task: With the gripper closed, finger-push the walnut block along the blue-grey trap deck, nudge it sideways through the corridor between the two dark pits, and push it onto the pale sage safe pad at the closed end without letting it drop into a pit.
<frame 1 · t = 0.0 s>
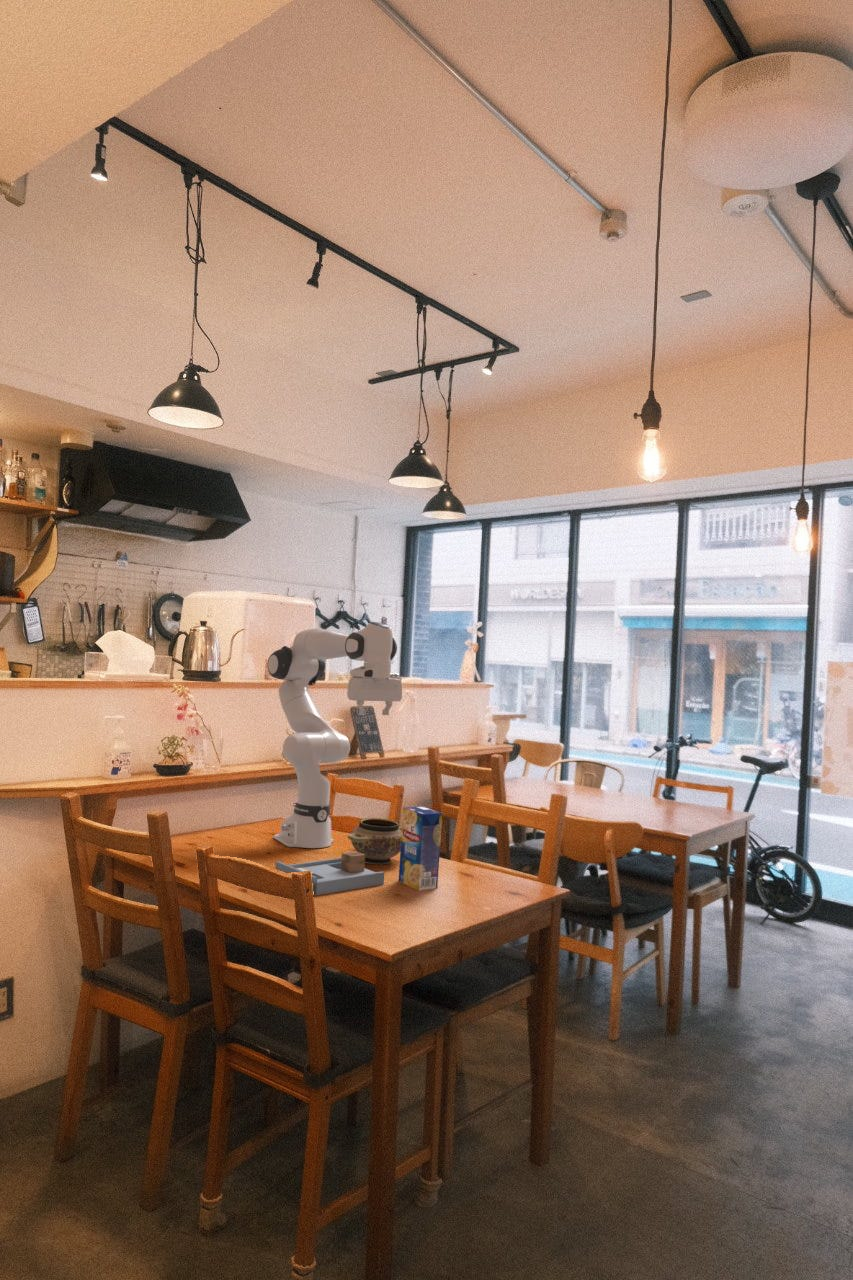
hand: (374, 715, 268), 48 cm above the table, fingers open, 8 cm apart
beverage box: (417, 885, 247), on the table
trap deck: (330, 881, 245), on the table
block: (352, 870, 248), point 2 cm above the table, touching trap deck
ceramic bowl: (376, 862, 272), on the table
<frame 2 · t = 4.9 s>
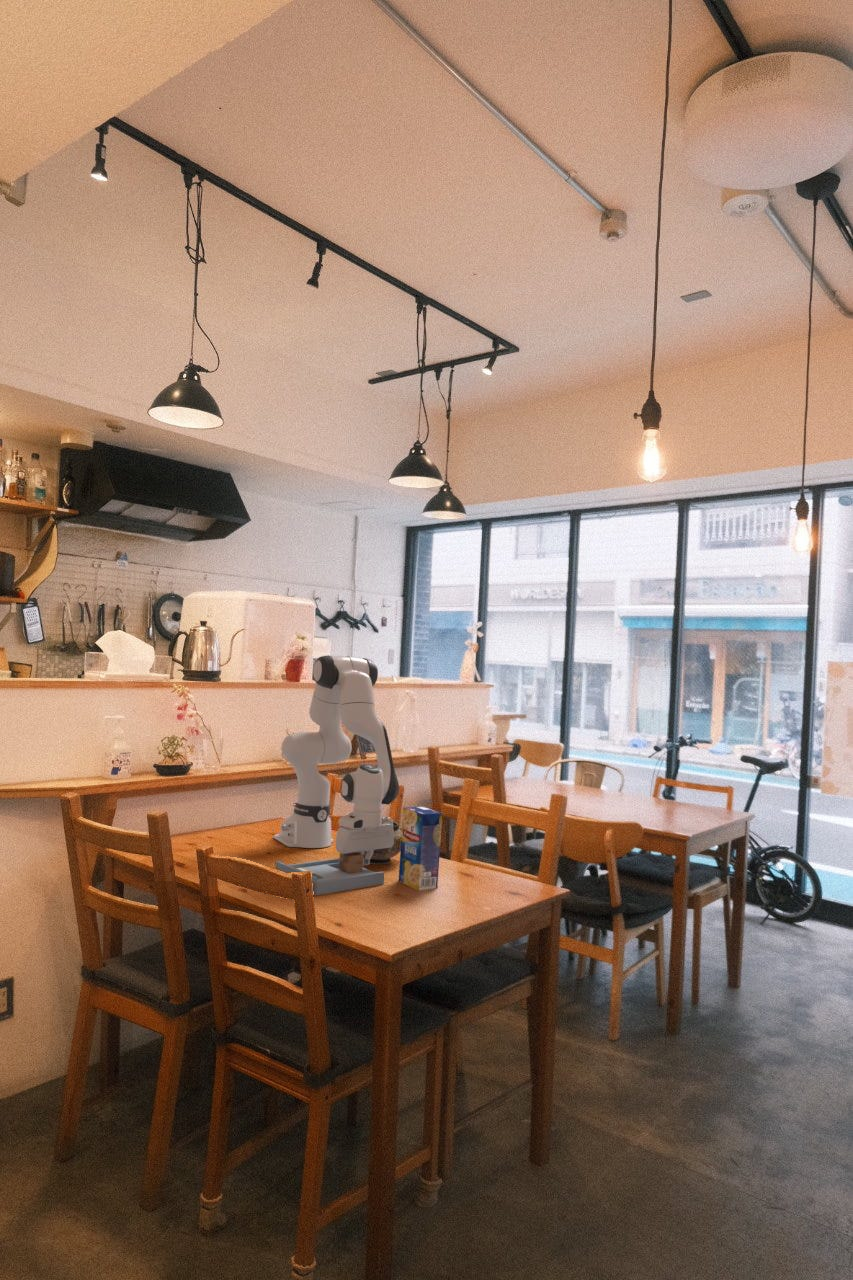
hand: (364, 865, 251), 4 cm above the table, fingers closed
block: (350, 870, 248), point 3 cm above the table, touching gripper
everything else where it was.
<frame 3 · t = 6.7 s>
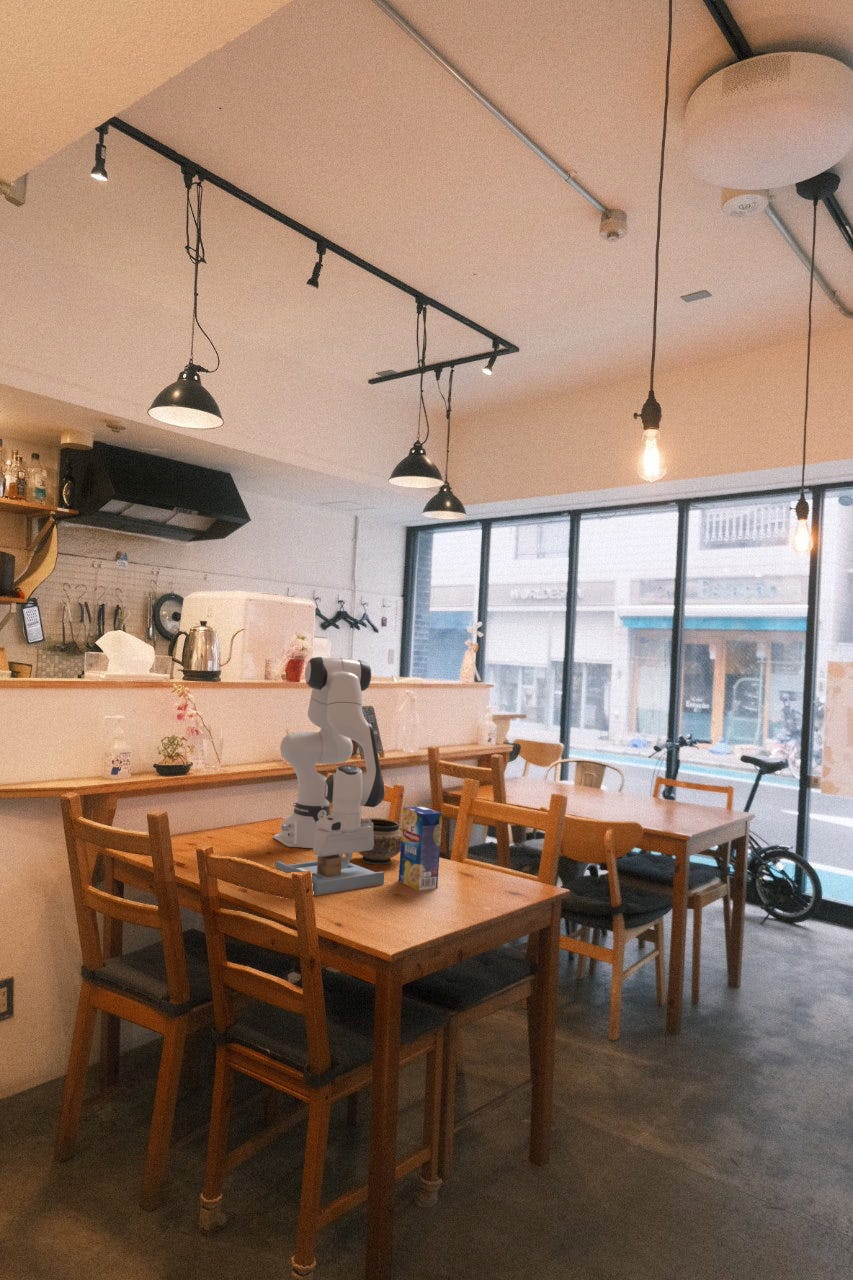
hand: (342, 868, 246), 4 cm above the table, fingers closed
block: (328, 873, 243), point 3 cm above the table, touching gripper, trap deck
everything else where it was.
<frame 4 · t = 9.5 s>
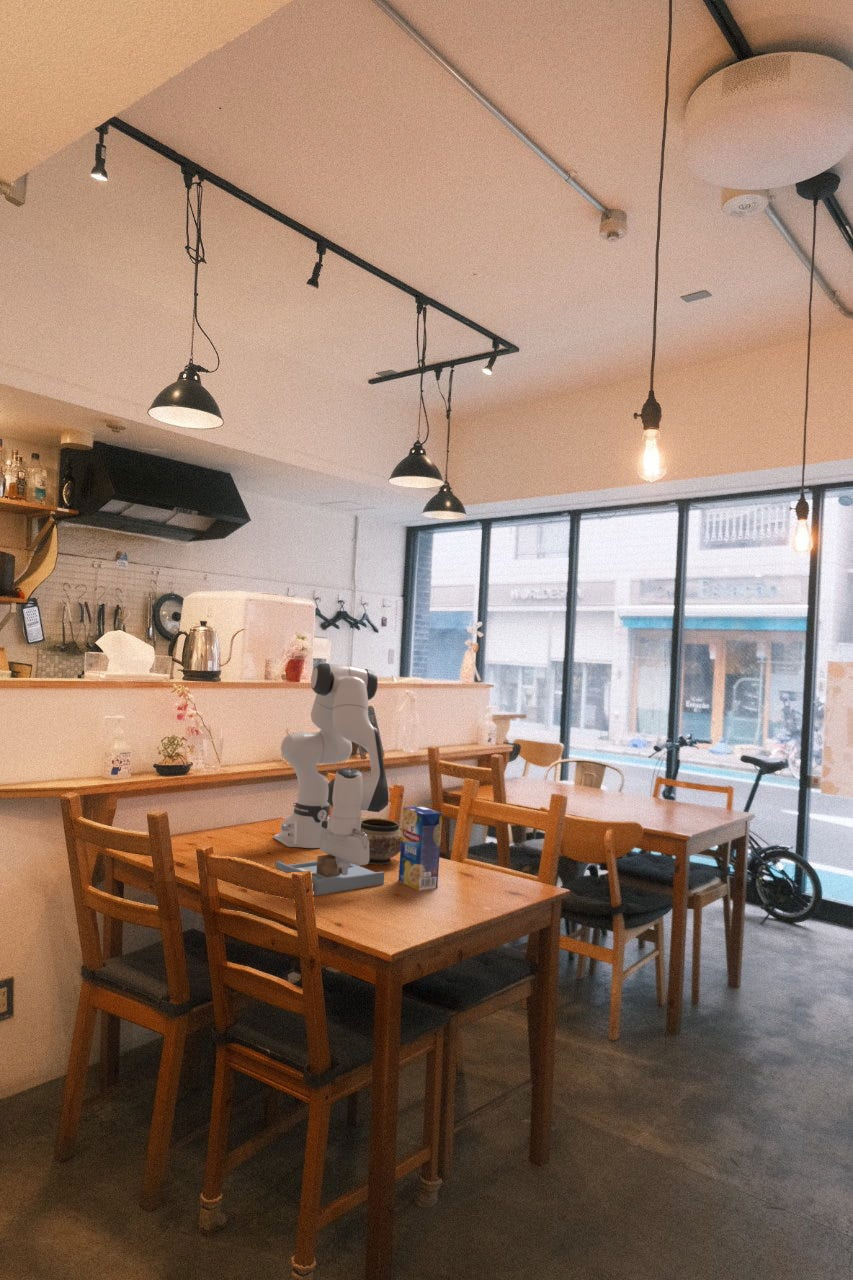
hand: (342, 873, 240), 4 cm above the table, fingers closed
nothing on the table moved.
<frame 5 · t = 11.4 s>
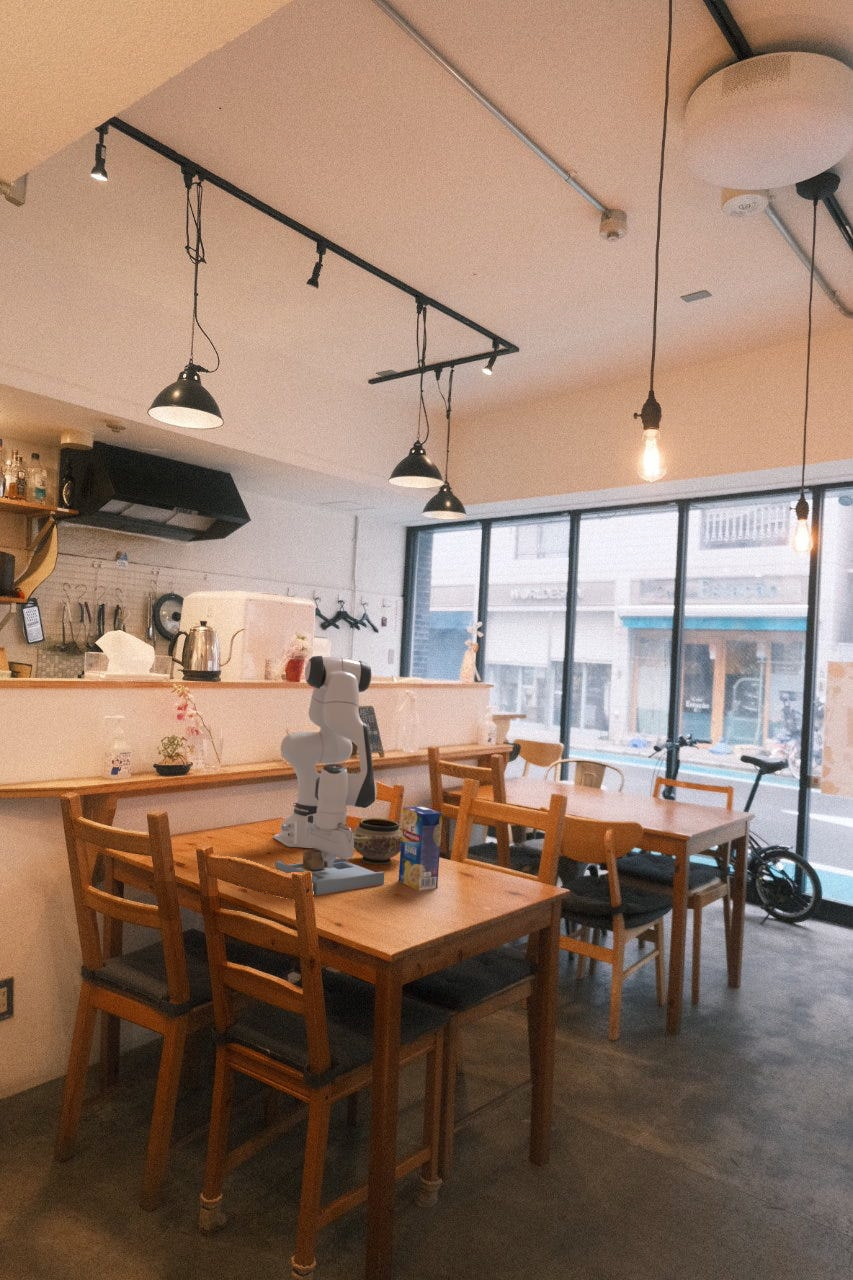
hand: (327, 867, 245), 4 cm above the table, fingers closed
block: (314, 868, 248), point 3 cm above the table, touching gripper, trap deck
everything else where it was.
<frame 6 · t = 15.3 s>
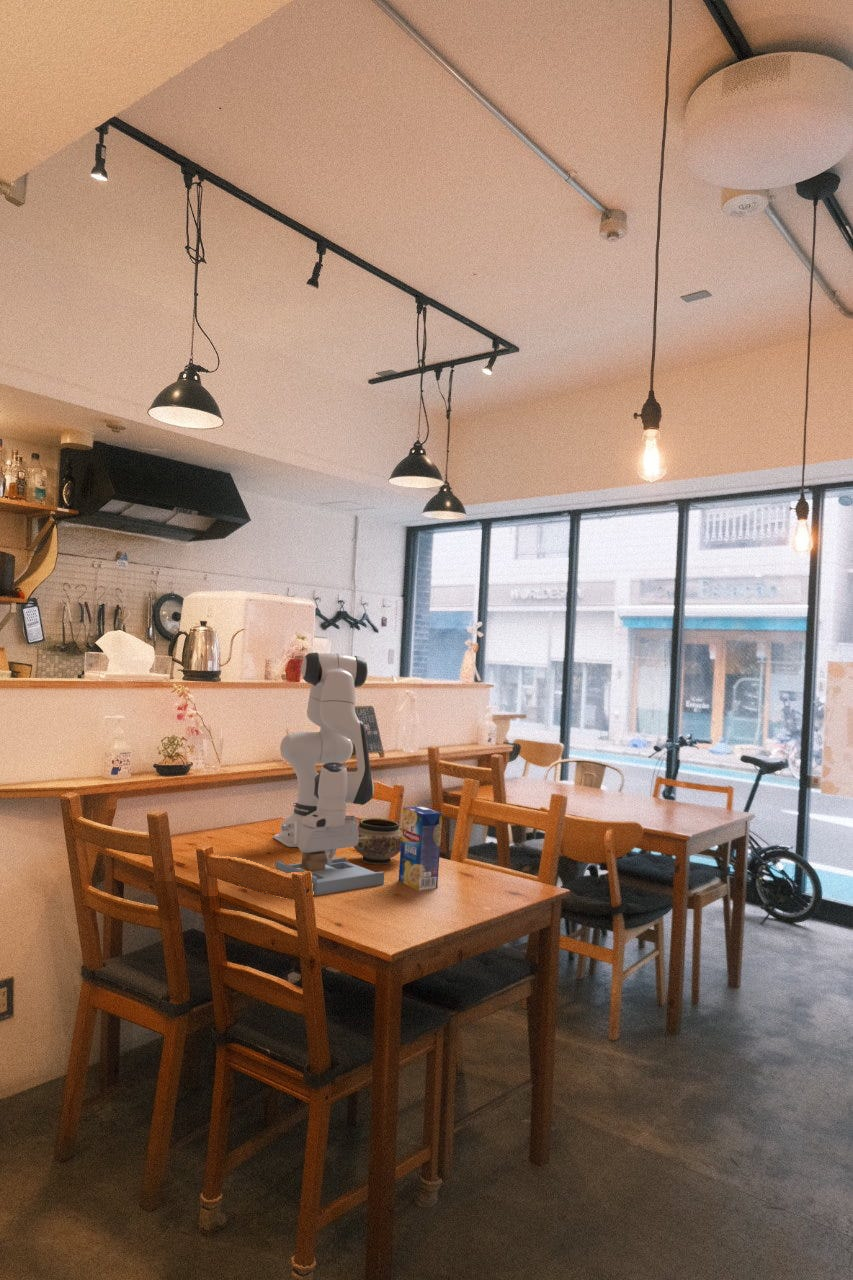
hand: (327, 864, 249), 4 cm above the table, fingers closed
nothing on the table moved.
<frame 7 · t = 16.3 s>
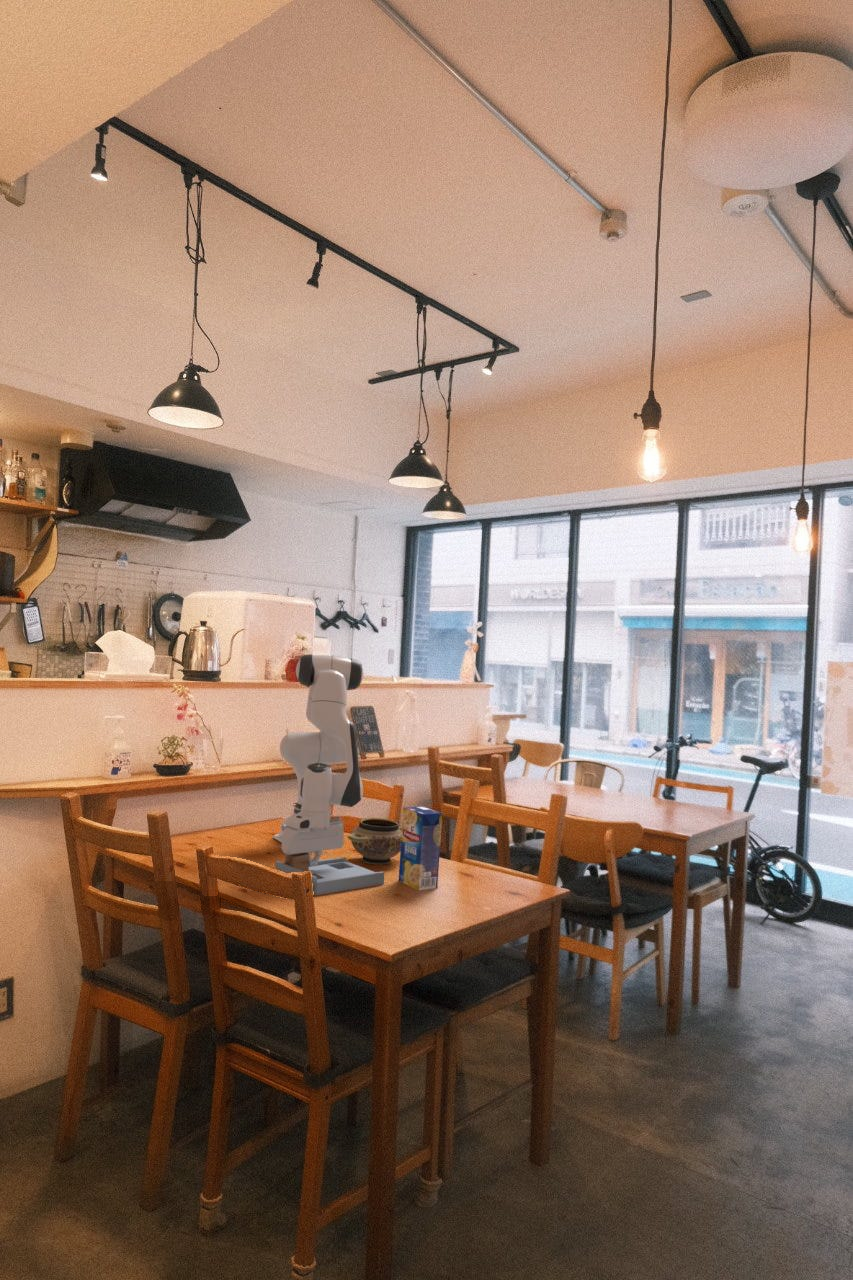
hand: (312, 866, 246), 4 cm above the table, fingers closed
block: (296, 870, 243), point 3 cm above the table, touching gripper, trap deck
everything else where it was.
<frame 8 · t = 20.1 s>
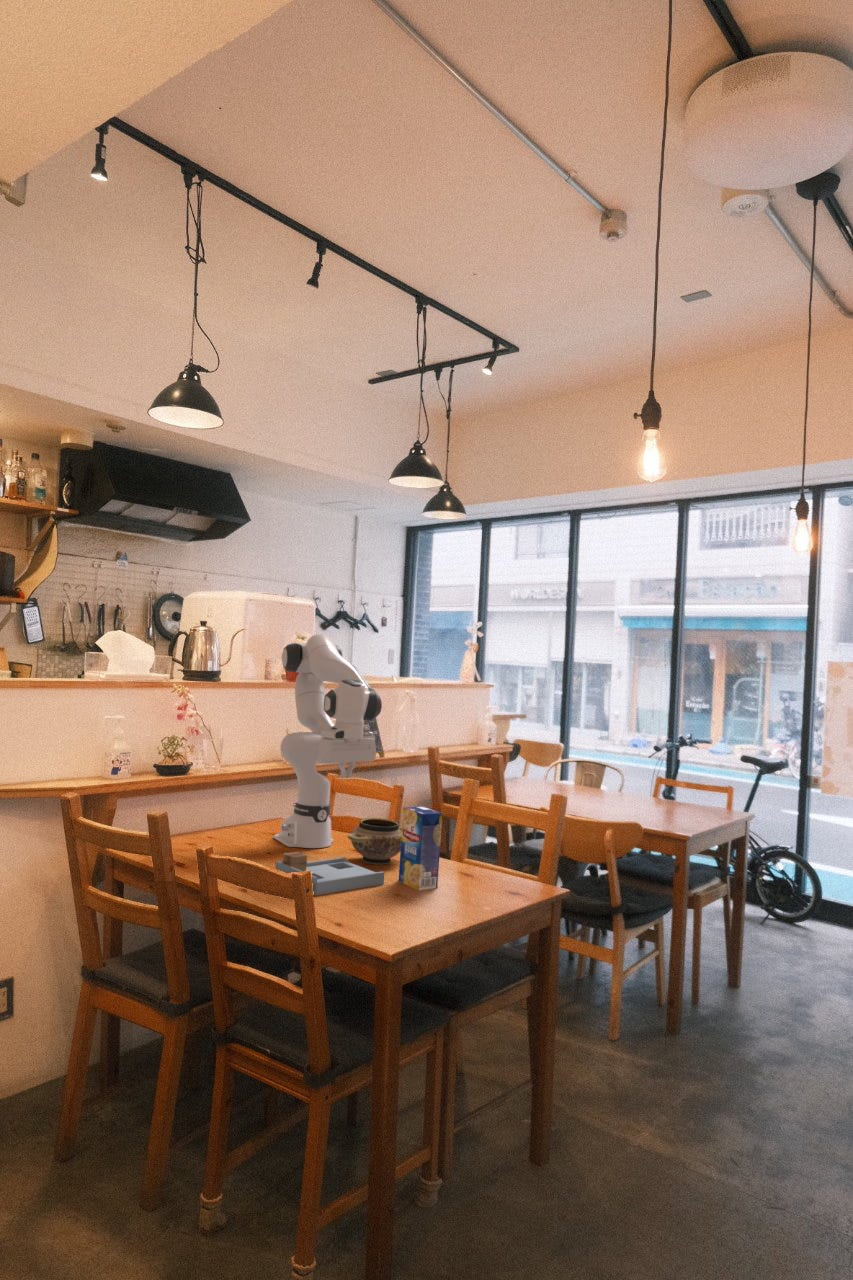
hand: (346, 776, 257), 29 cm above the table, fingers closed
block: (293, 871, 243), point 2 cm above the table, touching trap deck
everything else where it was.
at the end: block inside the target area on the trap deck (1.2 cm from its centre), point 2.5 cm above the trap deck's base; block tilted 0° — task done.
